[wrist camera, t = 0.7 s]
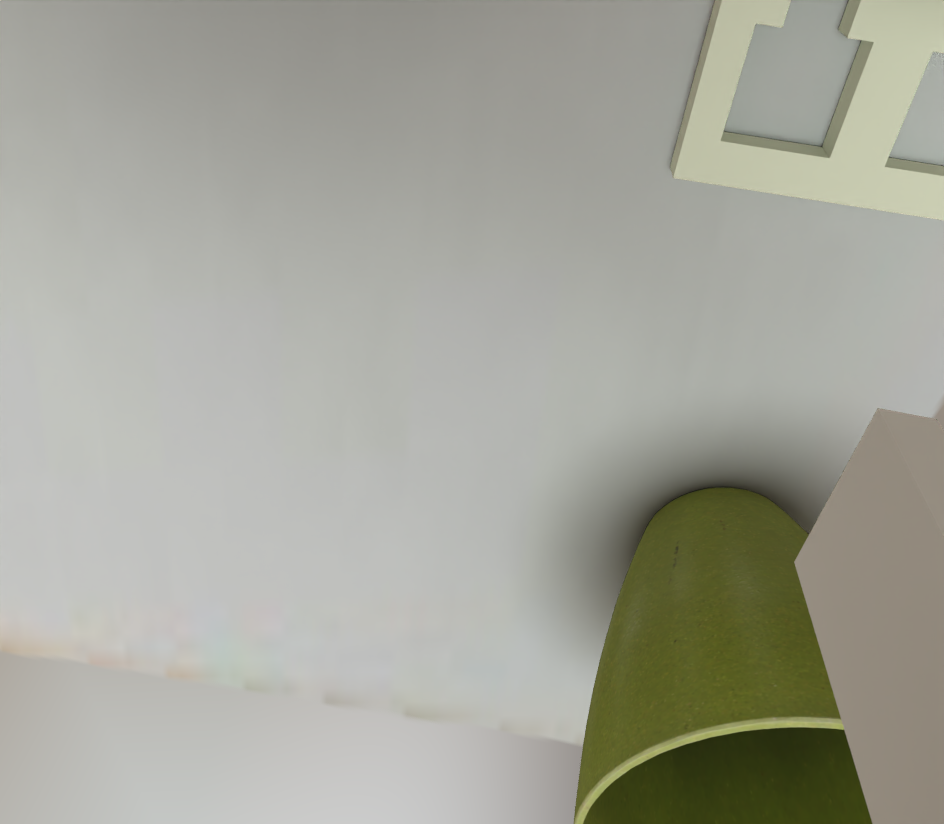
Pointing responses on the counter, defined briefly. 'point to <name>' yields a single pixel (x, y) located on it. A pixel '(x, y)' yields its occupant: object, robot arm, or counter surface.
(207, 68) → the counter surface
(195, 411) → the counter surface
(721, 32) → the pale green post stand
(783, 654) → the flower pot
